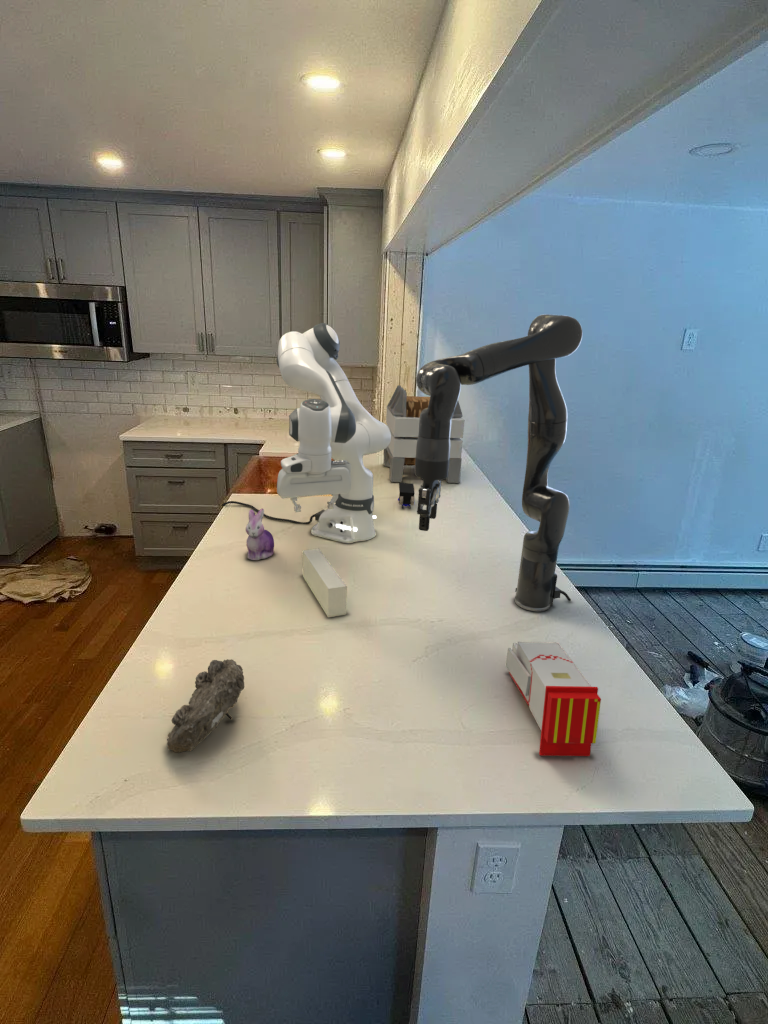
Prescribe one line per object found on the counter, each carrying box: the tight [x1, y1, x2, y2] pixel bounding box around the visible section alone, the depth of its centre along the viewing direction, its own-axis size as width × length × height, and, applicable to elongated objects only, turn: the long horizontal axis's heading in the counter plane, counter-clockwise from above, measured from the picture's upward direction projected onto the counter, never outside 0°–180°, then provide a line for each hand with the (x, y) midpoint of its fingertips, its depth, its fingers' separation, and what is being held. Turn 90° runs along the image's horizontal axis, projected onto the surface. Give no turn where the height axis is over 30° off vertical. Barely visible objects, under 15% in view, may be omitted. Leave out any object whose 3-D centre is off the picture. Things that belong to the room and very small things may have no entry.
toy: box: [505, 641, 602, 757], centre depth 113 cm, size 12×13×30 cm
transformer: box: [383, 384, 465, 484], centre depth 268 cm, size 34×33×41 cm
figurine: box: [245, 508, 275, 561], centre depth 176 cm, size 9×10×15 cm
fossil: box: [166, 658, 245, 754], centre depth 106 cm, size 22×10×15 cm
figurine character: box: [397, 482, 416, 510], centre depth 228 cm, size 7×8×15 cm
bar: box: [302, 547, 348, 618], centre depth 155 cm, size 25×5×8 cm, turn 23°
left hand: (314, 510), depth 157 cm, fingers open, 8 cm apart
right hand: (427, 523), depth 131 cm, fingers open, 8 cm apart
